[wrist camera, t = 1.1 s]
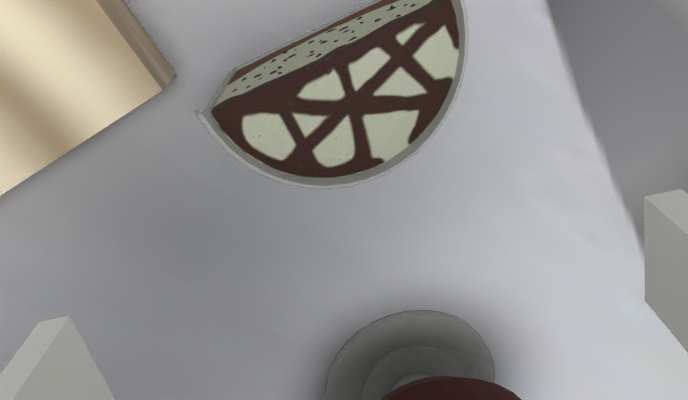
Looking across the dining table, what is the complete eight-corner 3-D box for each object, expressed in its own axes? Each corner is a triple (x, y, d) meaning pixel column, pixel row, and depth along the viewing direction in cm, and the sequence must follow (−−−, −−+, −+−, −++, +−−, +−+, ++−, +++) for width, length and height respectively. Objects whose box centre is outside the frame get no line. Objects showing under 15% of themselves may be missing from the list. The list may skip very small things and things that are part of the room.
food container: (259, 174, 34) (260, 246, 25) (208, 81, 32) (189, 122, 23) (446, 84, 34) (518, 124, 25) (408, -17, 32) (472, -15, 22)
